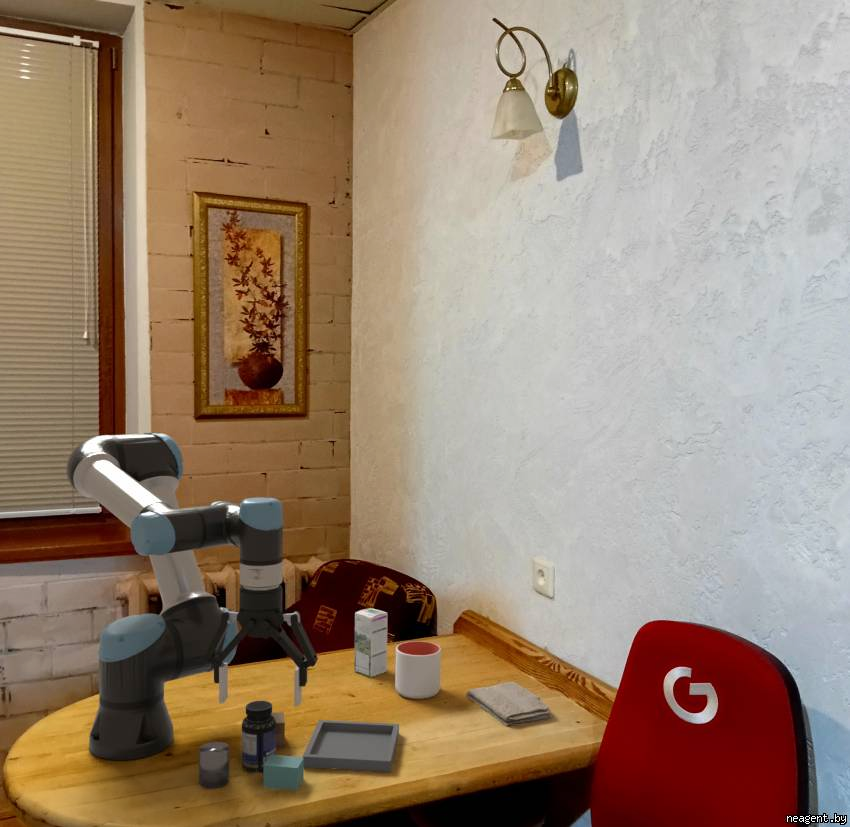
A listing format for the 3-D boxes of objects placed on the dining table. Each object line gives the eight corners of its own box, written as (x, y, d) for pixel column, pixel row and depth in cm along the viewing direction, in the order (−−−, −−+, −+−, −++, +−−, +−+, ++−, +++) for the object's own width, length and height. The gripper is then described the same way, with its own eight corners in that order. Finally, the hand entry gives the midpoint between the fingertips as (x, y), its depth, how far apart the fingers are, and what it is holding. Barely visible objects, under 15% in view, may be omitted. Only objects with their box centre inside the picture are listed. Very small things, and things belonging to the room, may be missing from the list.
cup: (435, 703, 186) (436, 657, 186) (390, 698, 188) (391, 653, 188) (443, 686, 196) (444, 643, 195) (400, 682, 198) (401, 639, 197)
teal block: (263, 787, 148) (263, 765, 148) (270, 776, 152) (270, 754, 152) (297, 790, 147) (297, 768, 147) (303, 779, 151) (303, 757, 151)
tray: (302, 767, 155) (302, 756, 155) (318, 729, 171) (319, 719, 171) (390, 772, 154) (390, 761, 154) (399, 733, 170) (399, 723, 170)
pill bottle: (273, 755, 160) (273, 697, 159) (278, 770, 154) (279, 710, 153) (239, 759, 158) (239, 700, 157) (243, 774, 152) (244, 713, 151)
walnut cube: (257, 750, 162) (257, 724, 162) (257, 738, 167) (257, 713, 167) (284, 748, 163) (284, 722, 163) (283, 737, 168) (283, 712, 168)
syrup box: (387, 671, 204) (389, 611, 203) (370, 678, 200) (371, 616, 199) (370, 665, 208) (371, 606, 207) (352, 672, 204) (354, 611, 203)
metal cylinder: (195, 788, 147) (195, 754, 147) (204, 774, 152) (204, 741, 152) (223, 789, 147) (224, 755, 146) (232, 775, 152) (232, 742, 151)
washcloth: (507, 730, 174) (508, 715, 174) (463, 698, 190) (464, 685, 190) (555, 721, 180) (556, 706, 179) (509, 690, 196) (509, 677, 195)
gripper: (185, 588, 151) (185, 707, 152) (326, 592, 149) (325, 712, 150) (199, 578, 159) (199, 691, 160) (333, 582, 157) (332, 696, 158)
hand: (260, 702), depth 155 cm, fingers open, 13 cm apart
